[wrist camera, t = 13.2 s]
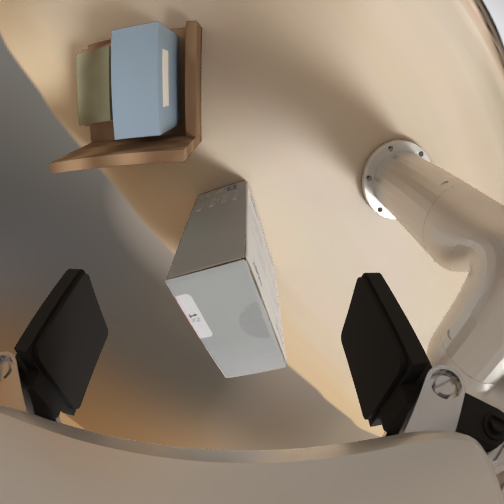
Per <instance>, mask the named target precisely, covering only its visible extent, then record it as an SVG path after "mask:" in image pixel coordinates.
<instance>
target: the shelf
mask: <svg viewBox="0 0 504 504" xmlns="http://www.w3.org/2000/svg"><path fill="white" fill-rule="evenodd" d="M169 30H171V31H172V32H173V33H175V34H176V35H177V36H179V37H180V116H181V124H179V125H178V126H176V127H174V128H172V129H170V130H168V131H167V132H165V133H163V134H161V135H157V136H145V137H135V138H126V139H118V140H115V137H114V125H113V110H112V90H111V40H107V41H103V42H99V43H95V44H91V45H88V49H86V50H82V53H79V54H77V102H78V117H79V126H81V125H85V126H88V125H90V129H91V140H92V143H90V144H88V145H86V146H84V147H82V148H79V149H77V150H75V151H73V152H71V153H69V154H67V155H65V156H63V157H61V158H59V159H57V160H55V161H53V162H51V163H50V170H51V173H58V172H66V171H73V170H81V169H90V168H99V167H110V166H121V165H133V164H148V163H166V162H184V161H185V160H186V159H187V158H188V156H189V155H190V154H191V153H192V151H193V150H194V149H195V148H196V147H197V146H198V144H199V143H200V142H201V45H202V27H201V26H200V25H199V23H198V22H197V21H186V28H178V29H169Z"/></svg>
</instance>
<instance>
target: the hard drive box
mask: <svg viewBox="0 0 504 504" xmlns="http://www.w3.org/2000/svg"><path fill="white" fill-rule="evenodd" d="M165 282H166V283H167V285H168V287H169V288H170V290H171V292H172V293H173V295H174V297H175V299H176V301H177V302H178V304H179V306H180V308H181V309H182V311H183V312H184V314H185V316H186V317H187V319H188V321H189V322H190V324H191V325H192V327H193V329H194V330H195V332H196V333H197V335H198V336H199V338H200V339H201V341H202V342H203V344H204V345H205V347H206V349H207V350H208V352H209V353H210V355H211V356H212V358H213V360H214V361H215V362H216V364H217V365H218V367H219V368H220V370H221V371H222V373H223V374H224V376H225V377H226V378H231V377H237V376H243V375H248V374H254V373H259V372H264V371H269V370H274V369H279V368H284V367H286V366H287V360H286V353H285V345H284V337H283V330H282V322H281V314H280V306H279V299H278V291H277V284H276V277H275V270H274V265H273V262H272V259H271V256H270V252H269V249H268V246H267V243H266V240H265V236H264V233H263V229H262V226H261V223H260V220H259V217H258V213H257V210H256V207H255V204H254V200H253V197H252V194H251V191H250V188H249V185H248V182H247V181H246V182H245V181H242V182H238V183H235V184H232V185H228V186H225V187H222V188H219V189H216V190H213V191H210V192H207V193H204V194H201V195H199V196H198V197H197V199H196V202H195V204H194V207H193V209H192V212H191V214H190V217H189V219H188V222H187V225H186V227H185V230H184V232H183V235H182V238H181V240H180V243H179V246H178V248H177V251H176V254H175V257H174V259H173V262H172V265H171V268H170V270H169V273H168V276H167V279H166V280H165Z"/></svg>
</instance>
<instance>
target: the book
mask: <svg viewBox="0 0 504 504" xmlns="http://www.w3.org/2000/svg"><path fill="white" fill-rule="evenodd" d="M111 90H112V110H113V125H114V137H115V140H118V139H126V138H135V137H145V136H157V135H161V134H163V133H165V132H167V131H168V130H170V129H172V128H174V127H176V126H178V125H179V124H181V116H180V37H179V36H177V35H176V34H175V33H173V32H172V31H171V30H169V29H168V28H167V27H165V26H164V25H162V24H161V23H160V22H153V23H147V24H142V25H136V26H131V27H127V28H122V29H118V30H113V31H111Z"/></svg>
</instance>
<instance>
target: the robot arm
mask: <svg viewBox="0 0 504 504" xmlns="http://www.w3.org/2000/svg"><path fill="white" fill-rule="evenodd" d="M388 147H389V149H388ZM367 176H368V178H367ZM362 190H363V194H364V197H365V200H366V201H367V203H368V204H369V206H370V207H371V208H372V209H373V210H374V211H375V212H376V213H377V214H379V215H380V216H382V217H385V218H388V219H397V220H398V221H399V222H400V224H401V225H402V226H403V227H404V228H405V229H406V230H407V231H408V232H409V233H410V234H411V235H412V236H413V237H414V238H415V240H416V241H417V242H418V243H419V244H420V245H421V246H422V247H423V248H424V250H425V251H426V252H427V253H428V254H429V255H430V256H431V257H432V258H433V259H434V261H435V262H436V263H438V264H439V265H440V266H442V267H443V268H445V269H448V270H450V271H455V272H469V274H468V276H467V278H466V280H465V282H464V284H463V286H462V288H461V291H460V292H459V294H458V296H457V298H456V299H455V301H454V302H453V304H452V306H451V307H450V309H449V310H448V312H447V314H446V315H445V317H444V318H443V320H442V321H441V323H440V325H439V326H438V328H437V329H436V331H435V332H434V334H433V336H432V338H431V340H430V342H429V345H428V349H427V355H426V353H425V351H424V349H423V347H422V345H421V343H420V341H419V340H418V338H417V336H416V334H415V332H414V330H413V328H412V326H411V325H410V323H409V321H408V319H407V317H406V316H405V314H404V312H403V310H402V309H401V307H400V305H399V303H398V302H397V300H396V298H395V297H394V295H393V293H392V291H391V290H390V288H389V286H388V285H387V283H386V281H385V280H384V278H383V276H382V275H381V274H380V273H364V274H363V275H362V277H359V278H358V279H357V282H356V285H355V289H354V293H353V296H352V300H351V303H350V307H349V310H348V314H347V317H346V320H345V324H344V327H343V330H342V334H341V341H342V345H343V348H344V351H345V354H346V358H347V361H348V364H349V368H350V371H351V374H352V378H353V381H354V385H355V388H356V392H357V395H358V399H359V403H360V406H361V410H362V414H363V417H364V418H365V419H368V420H369V424H370V427H372V426H377V425H382V426H383V429H384V431H385V432H384V434H383V436H382V437H380V438H375V439H369V440H363V441H358V442H351V443H344V444H336V445H328V446H320V447H310V448H299V449H284V450H253V451H252V450H248V451H247V450H240V451H239V450H211V449H196V448H184V447H175V446H166V445H158V444H151V443H145V442H139V441H133V440H127V439H122V438H117V437H112V436H108V435H103V434H99V433H95V432H91V431H87V430H83V429H79V428H76V427H72V426H69V425H65V424H62V423H61V420H60V417H59V414H60V411H61V412H63V413H66V414H70V415H74V414H75V411H76V409H78V408H79V407H80V406H81V403H82V400H83V397H84V395H85V392H86V389H87V386H88V384H89V381H90V378H91V376H92V373H93V371H94V368H95V366H96V363H97V360H98V358H99V355H100V353H101V350H102V348H103V346H104V343H105V341H106V339H107V336H108V329H107V326H106V323H105V320H104V318H103V315H102V313H101V310H100V307H99V304H98V301H97V299H96V296H95V293H94V290H93V287H92V284H91V281H90V278H89V275H88V274H86V273H85V272H84V270H82V269H68V270H67V271H66V272H65V274H64V275H63V276H62V278H61V279H60V280H59V282H58V283H57V284H56V286H55V287H54V288H53V290H52V291H51V293H50V294H49V295H48V297H47V298H46V300H45V301H44V303H43V304H42V306H41V307H40V308H39V310H38V311H37V313H36V315H35V316H34V317H33V319H32V321H31V322H30V324H29V325H28V327H27V328H26V330H25V332H24V333H23V335H22V336H21V338H20V340H19V341H18V343H17V344H16V346H15V348H14V349H15V350H16V352H17V354H16V356H14V355H13V354H12V353H9V352H1V353H0V504H504V205H502V204H500V203H498V202H497V201H495V200H493V199H492V198H490V197H488V196H487V195H485V194H483V193H482V192H480V191H479V190H477V189H476V188H474V187H472V186H471V185H469V184H467V183H466V182H464V181H462V180H461V179H459V178H457V177H456V176H454V175H452V174H450V173H449V172H447V171H445V170H443V169H442V168H440V167H438V166H436V165H434V164H432V163H431V160H430V158H429V156H428V155H427V153H426V152H425V151H424V150H423V149H422V148H421V147H420V146H418V145H417V144H415V143H413V142H410V141H407V140H392V141H388V142H386V143H384V144H382V145H381V146H379V147H378V148H377V149H376V150H375V151H374V152H373V153H372V154H371V155H370V157H369V159H368V160H367V162H366V164H365V167H364V170H363V175H362Z"/></svg>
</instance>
